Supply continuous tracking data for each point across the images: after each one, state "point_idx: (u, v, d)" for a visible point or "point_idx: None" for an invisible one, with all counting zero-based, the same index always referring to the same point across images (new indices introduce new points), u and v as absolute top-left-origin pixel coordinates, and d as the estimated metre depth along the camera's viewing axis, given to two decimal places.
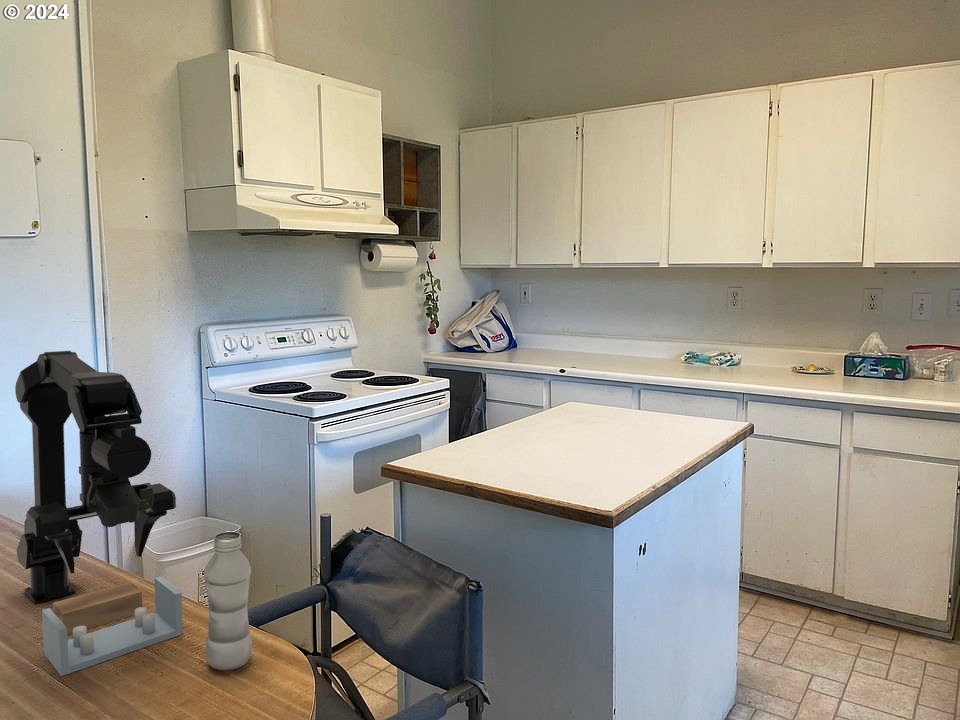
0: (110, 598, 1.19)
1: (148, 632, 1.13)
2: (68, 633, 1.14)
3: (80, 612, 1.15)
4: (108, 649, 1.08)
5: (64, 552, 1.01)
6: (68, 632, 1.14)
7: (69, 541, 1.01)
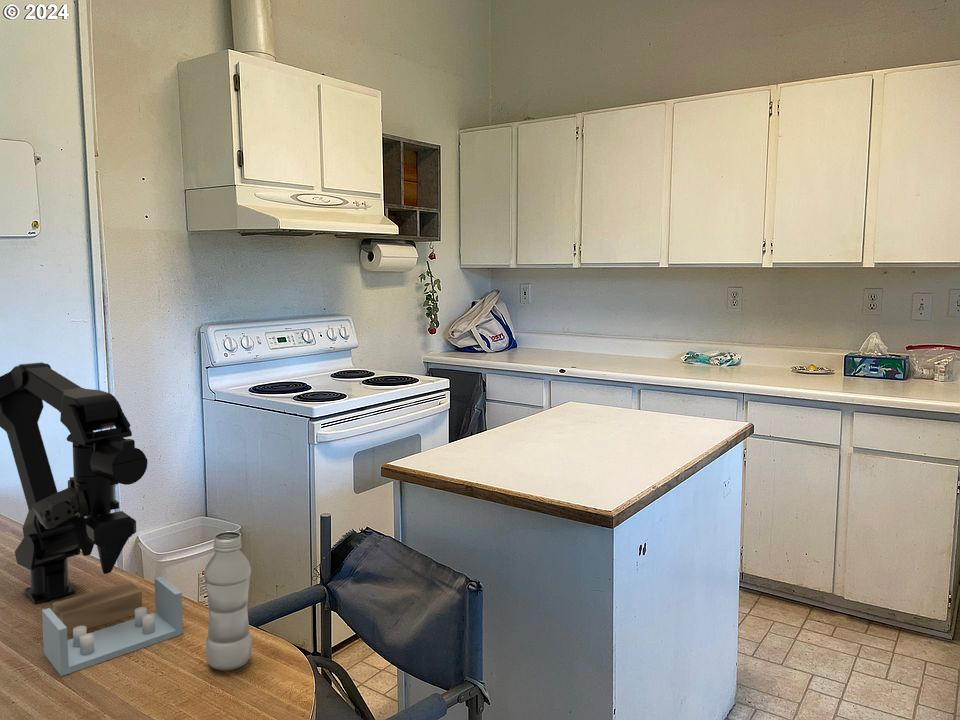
0: (110, 597, 1.19)
1: (148, 632, 1.13)
2: (68, 633, 1.14)
3: (80, 612, 1.15)
4: (108, 649, 1.08)
5: (76, 533, 1.21)
6: (68, 632, 1.14)
7: (74, 526, 1.20)
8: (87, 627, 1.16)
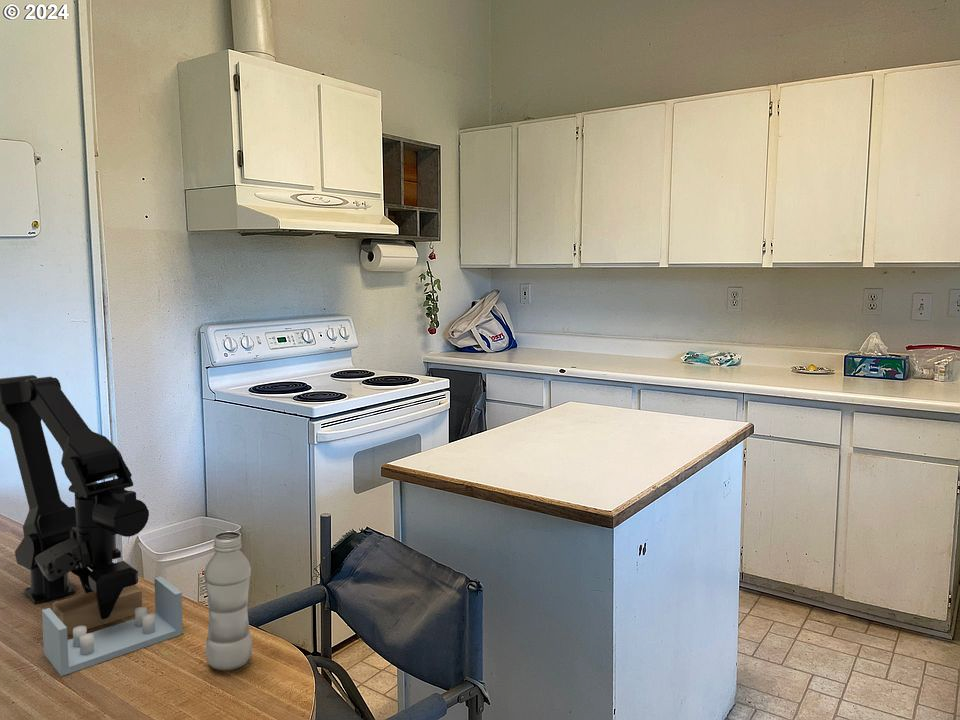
0: None
1: (148, 632, 1.13)
2: (69, 633, 1.14)
3: (80, 612, 1.15)
4: (108, 649, 1.08)
5: (82, 585, 1.20)
6: (69, 632, 1.14)
7: (80, 578, 1.19)
8: (87, 627, 1.16)
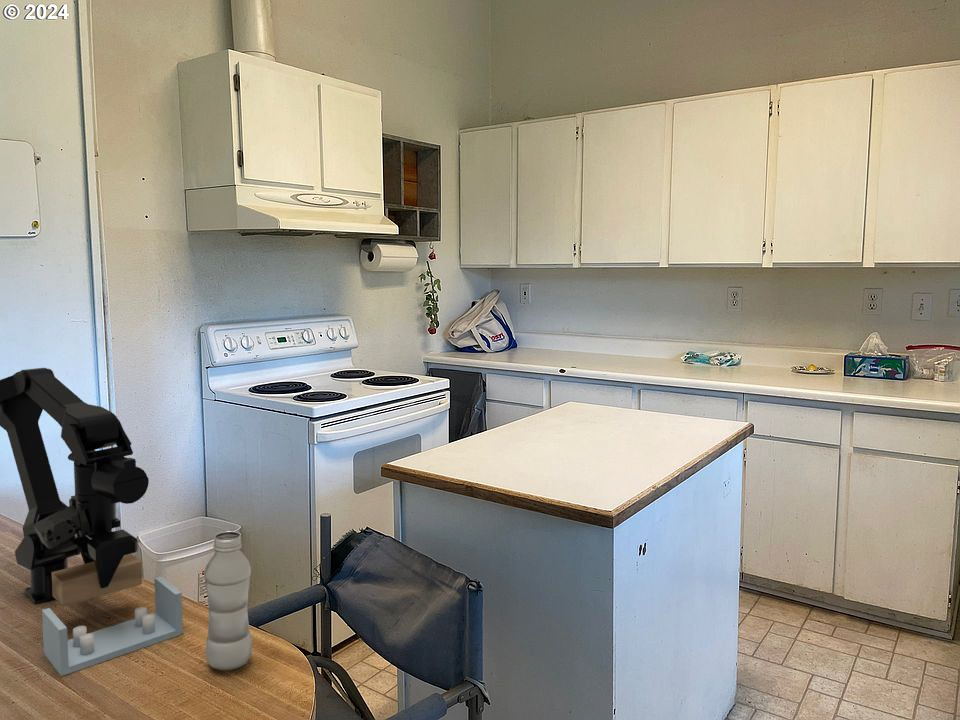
0: None
1: (148, 632, 1.13)
2: (67, 602, 1.13)
3: (79, 581, 1.14)
4: (108, 649, 1.08)
5: (81, 555, 1.20)
6: (67, 601, 1.13)
7: (80, 547, 1.19)
8: (86, 596, 1.15)
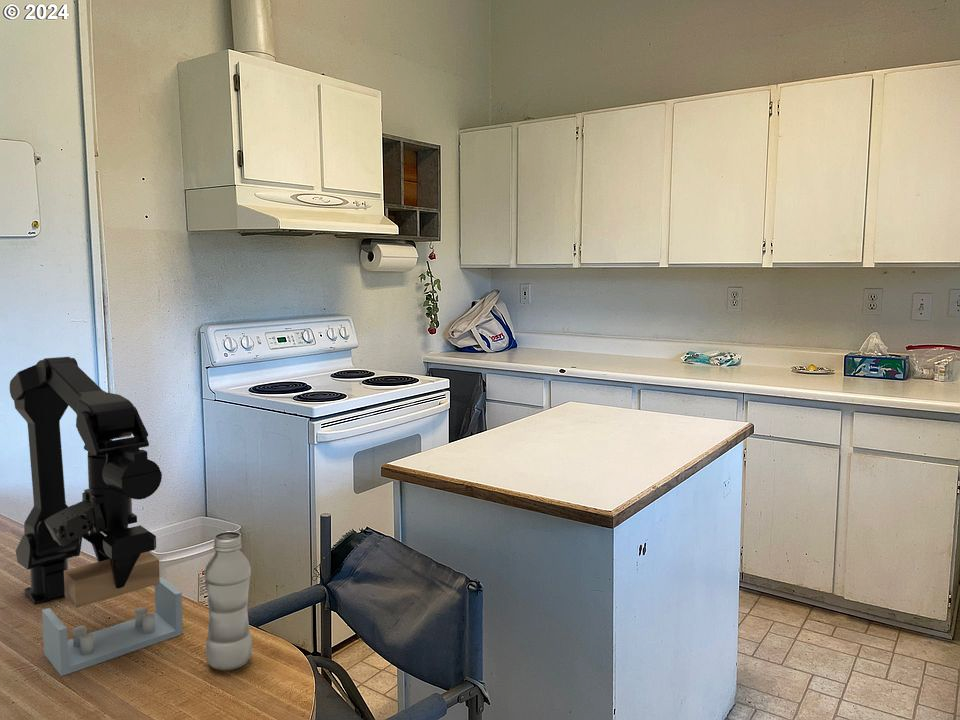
0: None
1: (148, 632, 1.13)
2: (81, 602, 1.05)
3: (93, 580, 1.06)
4: (108, 649, 1.08)
5: (95, 553, 1.12)
6: (81, 601, 1.05)
7: (93, 545, 1.11)
8: (101, 596, 1.07)
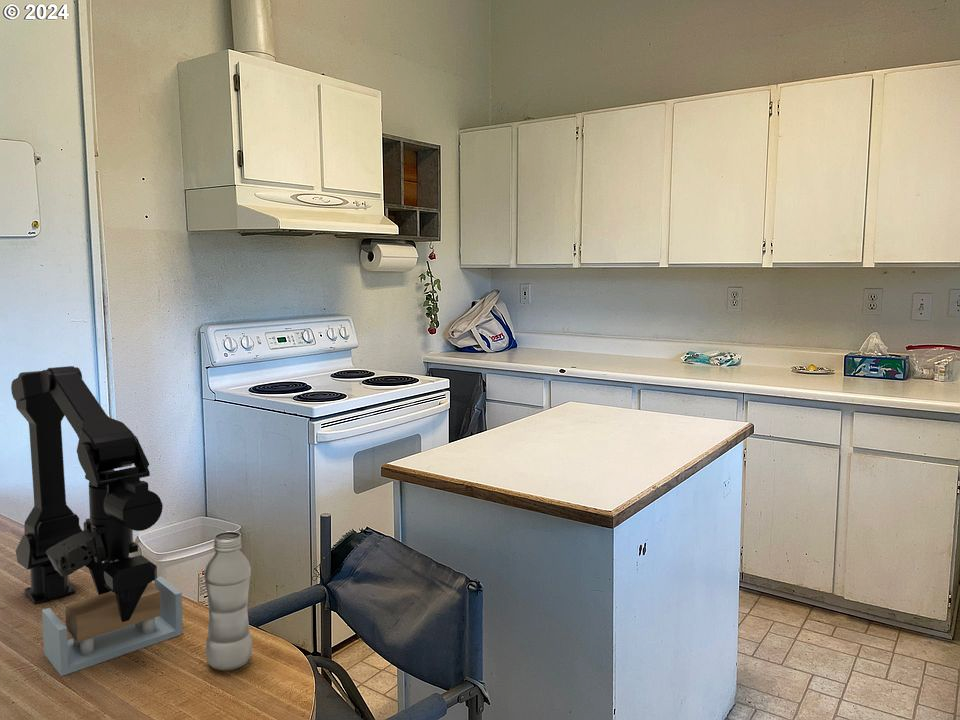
0: None
1: (148, 632, 1.13)
2: (82, 637, 1.06)
3: (95, 614, 1.06)
4: (108, 649, 1.08)
5: (92, 577, 1.13)
6: (82, 636, 1.06)
7: (90, 569, 1.13)
8: (102, 630, 1.08)
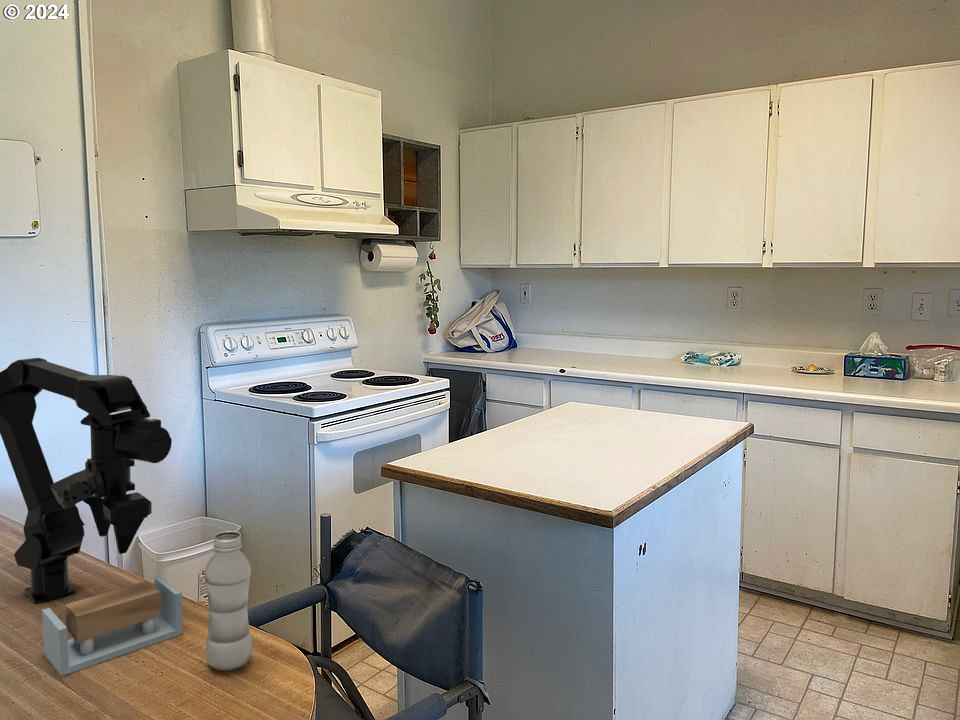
0: (127, 598, 1.10)
1: (148, 632, 1.13)
2: (82, 637, 1.06)
3: (95, 614, 1.06)
4: (108, 649, 1.08)
5: None
6: (82, 636, 1.06)
7: (91, 507, 1.22)
8: (102, 630, 1.08)
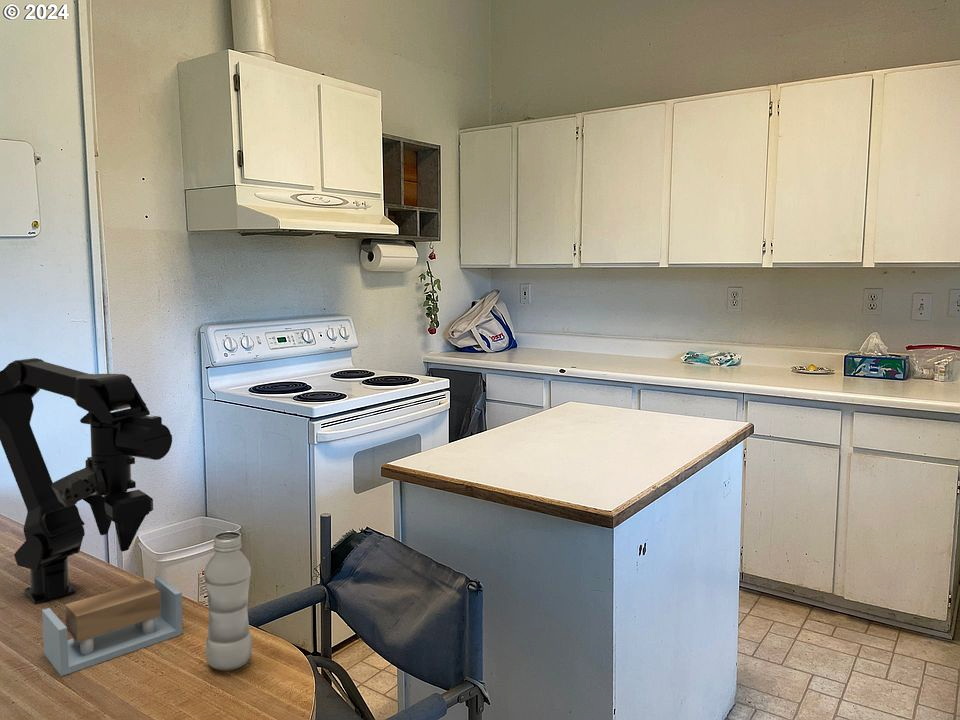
0: (127, 598, 1.10)
1: (148, 632, 1.13)
2: (82, 637, 1.06)
3: (95, 614, 1.06)
4: (108, 649, 1.08)
5: (93, 513, 1.23)
6: (82, 636, 1.06)
7: (91, 506, 1.22)
8: (102, 630, 1.08)
